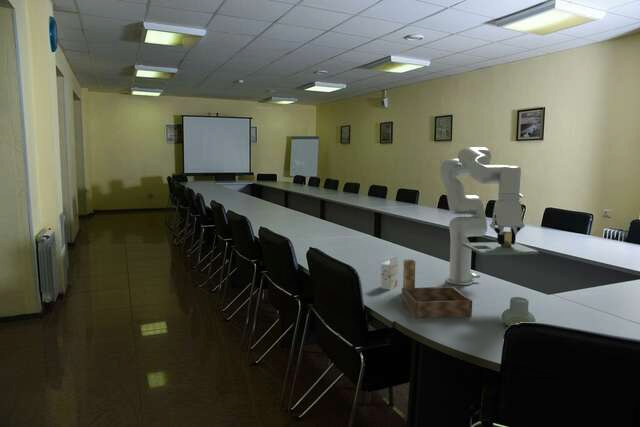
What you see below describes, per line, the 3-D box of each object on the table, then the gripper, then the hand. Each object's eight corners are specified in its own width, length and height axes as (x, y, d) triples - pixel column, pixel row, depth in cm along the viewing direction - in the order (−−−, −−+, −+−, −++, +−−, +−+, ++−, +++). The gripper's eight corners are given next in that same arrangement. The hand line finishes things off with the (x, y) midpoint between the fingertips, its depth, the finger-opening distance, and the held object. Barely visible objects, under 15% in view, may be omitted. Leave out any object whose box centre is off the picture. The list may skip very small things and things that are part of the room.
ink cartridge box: (387, 283, 204) (388, 253, 202) (397, 285, 201) (398, 254, 199) (380, 288, 196) (380, 257, 194) (390, 290, 194) (391, 258, 192)
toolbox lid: (512, 244, 179) (513, 227, 178) (538, 253, 161) (539, 235, 160) (462, 245, 177) (462, 228, 176) (482, 255, 159) (483, 236, 158)
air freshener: (501, 328, 150) (503, 301, 149) (500, 320, 158) (502, 294, 157) (536, 333, 147) (538, 305, 145) (533, 324, 154) (535, 297, 153)
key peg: (411, 292, 190) (412, 259, 189) (414, 295, 187) (415, 261, 185) (402, 292, 190) (403, 259, 188) (405, 295, 186) (406, 262, 184)
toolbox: (452, 300, 180) (453, 286, 179) (471, 316, 162) (472, 300, 161) (401, 302, 178) (401, 288, 177) (415, 318, 160) (415, 302, 159)
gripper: (523, 196, 171) (520, 241, 174) (483, 197, 170) (481, 242, 172) (534, 198, 164) (531, 245, 166) (492, 199, 162) (490, 246, 165)
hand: (506, 243), depth 169 cm, fingers closed on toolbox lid, 4 cm apart
